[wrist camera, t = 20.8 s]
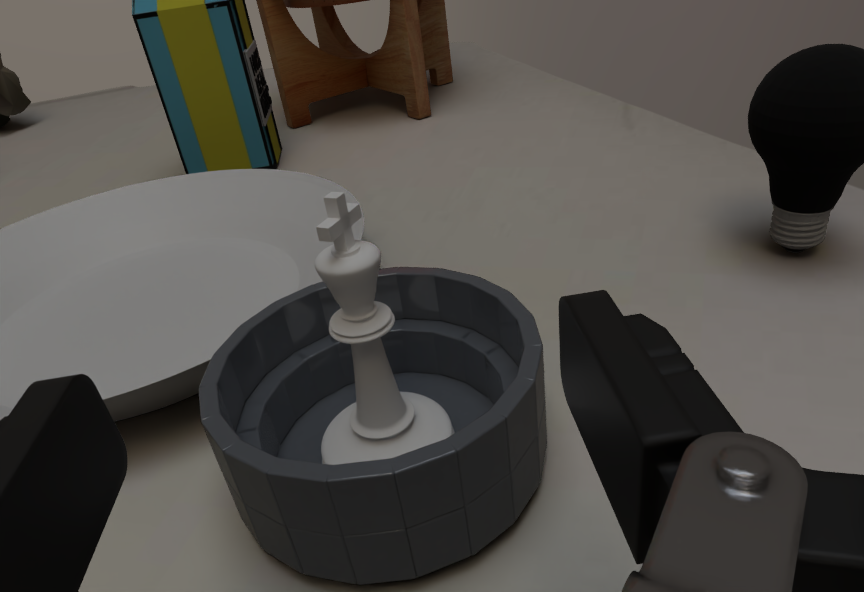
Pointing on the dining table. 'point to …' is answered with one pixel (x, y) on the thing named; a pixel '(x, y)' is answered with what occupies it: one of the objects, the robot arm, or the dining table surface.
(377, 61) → the planter
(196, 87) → the carton
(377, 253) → the chess piece
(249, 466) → the grey round container
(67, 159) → the dining table surface
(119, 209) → the white plate
